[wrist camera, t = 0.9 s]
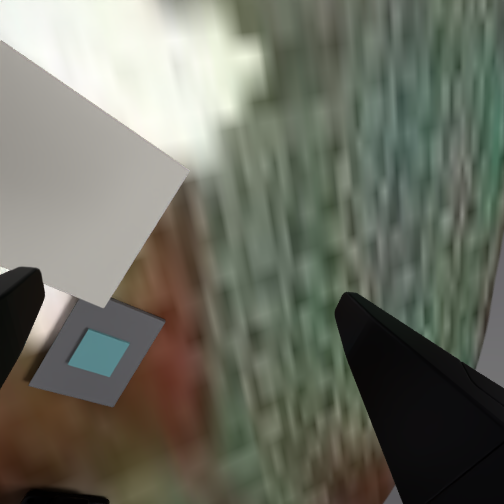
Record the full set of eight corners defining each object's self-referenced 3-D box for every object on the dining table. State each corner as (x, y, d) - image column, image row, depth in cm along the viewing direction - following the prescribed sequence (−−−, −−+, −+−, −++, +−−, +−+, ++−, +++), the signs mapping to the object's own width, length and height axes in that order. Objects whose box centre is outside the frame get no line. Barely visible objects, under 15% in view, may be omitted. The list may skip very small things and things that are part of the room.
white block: (116, 277, 20) (103, 308, 16) (-31, 209, 17) (-103, 223, 12) (183, 170, 20) (190, 170, 15) (45, 77, 16) (0, 40, 12)
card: (113, 403, 22) (112, 409, 22) (30, 381, 20) (27, 387, 20) (165, 319, 22) (165, 323, 21) (85, 287, 20) (83, 290, 19)
